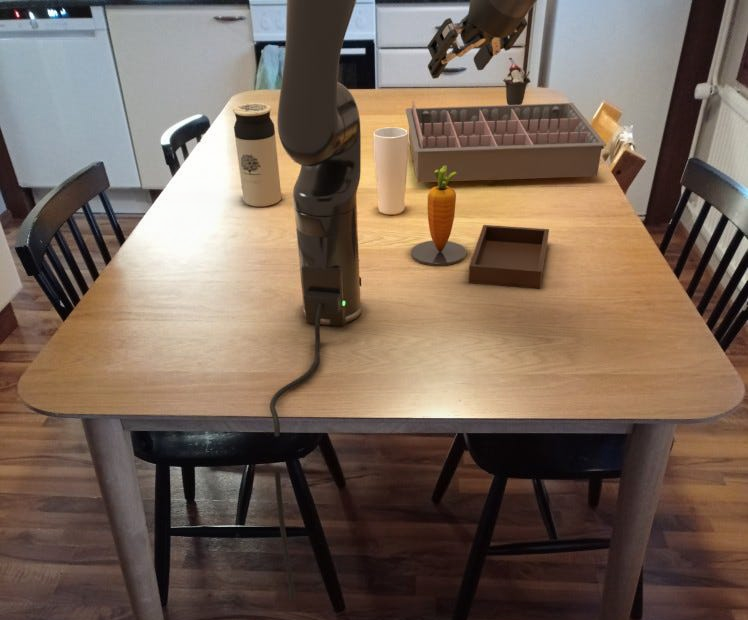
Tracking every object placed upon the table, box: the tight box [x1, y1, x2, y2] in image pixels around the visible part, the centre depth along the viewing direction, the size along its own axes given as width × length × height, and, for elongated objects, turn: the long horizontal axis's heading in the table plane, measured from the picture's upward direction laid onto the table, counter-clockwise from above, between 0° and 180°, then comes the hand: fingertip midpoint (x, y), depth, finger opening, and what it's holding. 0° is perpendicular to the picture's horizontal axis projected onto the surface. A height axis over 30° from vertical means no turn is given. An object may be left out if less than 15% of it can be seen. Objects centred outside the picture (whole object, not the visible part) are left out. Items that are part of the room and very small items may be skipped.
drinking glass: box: [372, 126, 409, 216], centre depth 153 cm, size 7×7×15 cm
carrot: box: [427, 166, 457, 252], centre depth 136 cm, size 5×5×15 cm
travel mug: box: [232, 102, 282, 208], centre depth 158 cm, size 8×8×18 cm
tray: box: [468, 224, 550, 289], centre depth 137 cm, size 18×12×3 cm, turn 167°
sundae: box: [502, 57, 531, 105], centre depth 196 cm, size 7×7×15 cm
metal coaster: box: [410, 240, 467, 267], centre depth 141 cm, size 10×10×1 cm
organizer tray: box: [405, 100, 607, 183], centre depth 175 cm, size 32×40×10 cm
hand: (455, 68), depth 119 cm, fingers open, 8 cm apart
